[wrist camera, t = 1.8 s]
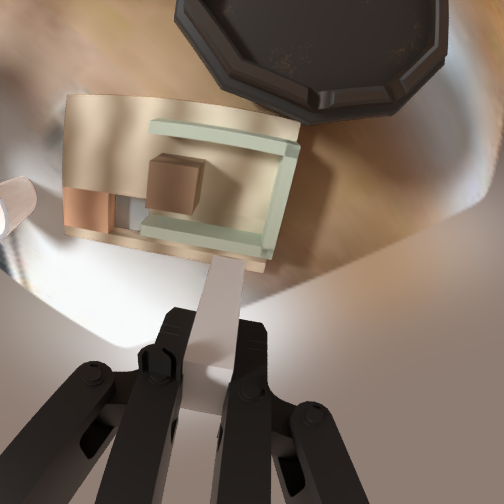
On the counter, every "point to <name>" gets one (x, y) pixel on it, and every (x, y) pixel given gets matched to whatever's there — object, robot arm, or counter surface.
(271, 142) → the cubby
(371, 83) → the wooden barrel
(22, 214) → the shot glass
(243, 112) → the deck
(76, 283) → the counter surface
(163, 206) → the block
